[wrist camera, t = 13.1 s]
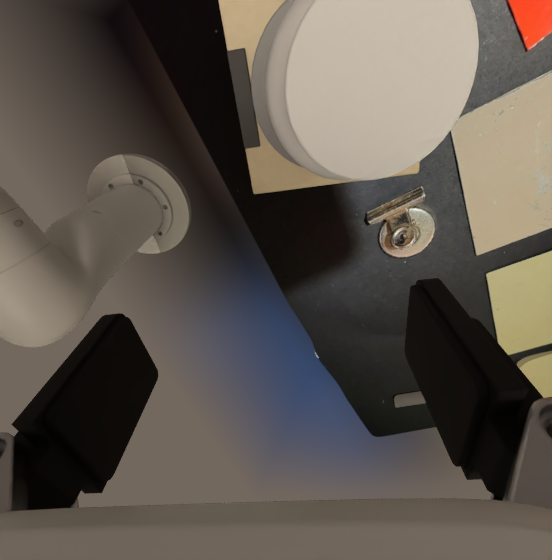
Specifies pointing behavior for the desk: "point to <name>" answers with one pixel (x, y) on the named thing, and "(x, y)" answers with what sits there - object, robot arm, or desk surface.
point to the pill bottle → (369, 82)
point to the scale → (262, 95)
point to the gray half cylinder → (409, 399)
